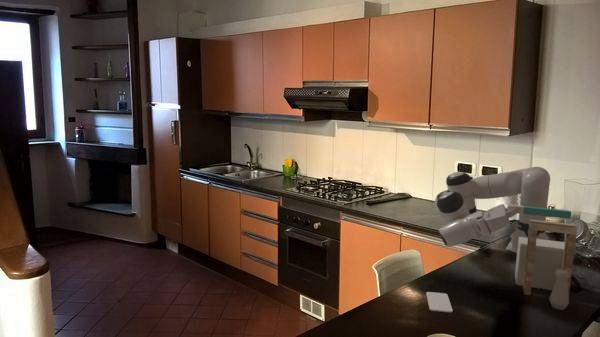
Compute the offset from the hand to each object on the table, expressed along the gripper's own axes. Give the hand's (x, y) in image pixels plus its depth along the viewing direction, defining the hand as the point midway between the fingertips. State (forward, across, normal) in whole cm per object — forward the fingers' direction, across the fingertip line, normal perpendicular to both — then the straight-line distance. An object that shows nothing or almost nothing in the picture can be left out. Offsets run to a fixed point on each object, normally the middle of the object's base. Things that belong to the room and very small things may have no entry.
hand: (519, 208), depth 175 cm
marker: (+4, 0, -5) cm, 6 cm away
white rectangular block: (-6, -10, -32) cm, 34 cm away
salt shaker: (-3, +10, -34) cm, 35 cm away
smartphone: (-36, +23, -15) cm, 46 cm away
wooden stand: (-6, 0, -32) cm, 32 cm away
